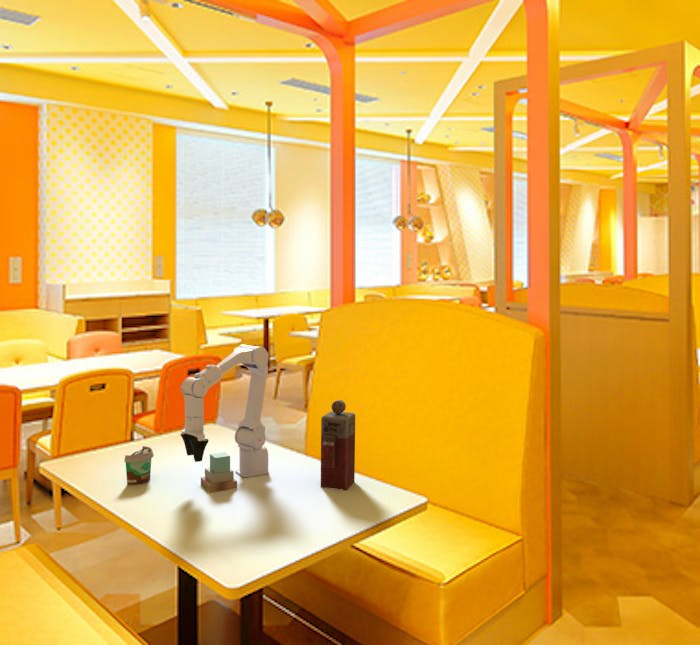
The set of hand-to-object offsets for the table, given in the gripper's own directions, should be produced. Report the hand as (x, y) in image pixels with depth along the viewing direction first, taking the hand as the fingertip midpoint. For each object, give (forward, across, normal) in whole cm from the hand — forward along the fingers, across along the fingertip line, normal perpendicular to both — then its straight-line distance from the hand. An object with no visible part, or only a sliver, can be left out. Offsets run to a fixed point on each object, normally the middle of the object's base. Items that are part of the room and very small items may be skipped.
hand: (194, 458), depth 214 cm
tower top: (+8, 0, +8) cm, 12 cm away
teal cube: (+5, 0, +8) cm, 10 cm away
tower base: (+11, 0, +8) cm, 14 cm away
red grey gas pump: (+11, +17, +42) cm, 47 cm away
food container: (+11, -17, -12) cm, 23 cm away
